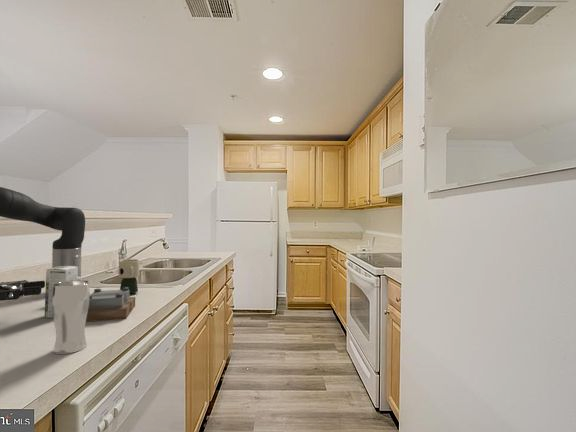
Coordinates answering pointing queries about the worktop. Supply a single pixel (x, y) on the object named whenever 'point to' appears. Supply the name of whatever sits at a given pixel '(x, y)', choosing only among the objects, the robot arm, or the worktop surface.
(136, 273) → the character mug
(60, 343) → the beer glass
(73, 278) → the syrup box
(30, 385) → the worktop surface
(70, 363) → the worktop surface
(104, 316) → the tower base
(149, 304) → the worktop surface
